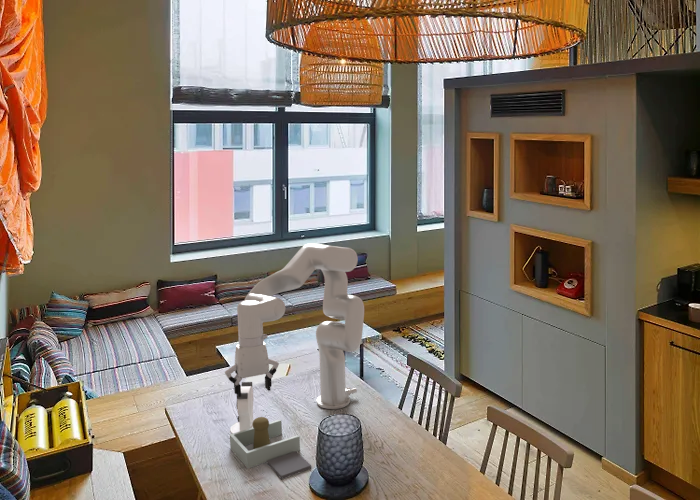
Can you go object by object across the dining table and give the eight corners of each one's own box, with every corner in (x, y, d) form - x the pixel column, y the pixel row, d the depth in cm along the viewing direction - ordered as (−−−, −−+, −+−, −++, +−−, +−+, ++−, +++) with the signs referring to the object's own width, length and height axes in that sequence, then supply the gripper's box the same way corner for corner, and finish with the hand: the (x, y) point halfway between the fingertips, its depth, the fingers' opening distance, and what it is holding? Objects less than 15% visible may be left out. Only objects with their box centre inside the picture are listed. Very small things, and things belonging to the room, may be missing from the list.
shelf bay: (280, 433, 198) (280, 419, 197) (300, 450, 186) (299, 436, 185) (230, 448, 188) (229, 434, 187) (247, 468, 176) (246, 453, 176)
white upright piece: (234, 420, 208) (231, 380, 205) (265, 419, 208) (263, 380, 205) (227, 437, 196) (224, 395, 193) (261, 436, 196) (258, 394, 193)
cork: (268, 456, 183) (266, 424, 181) (249, 454, 184) (248, 422, 182) (274, 446, 189) (272, 415, 187) (256, 445, 190) (254, 413, 188)
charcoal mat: (295, 453, 184) (295, 451, 184) (311, 468, 176) (311, 465, 176) (267, 463, 179) (266, 460, 179) (281, 479, 171) (281, 475, 170)
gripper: (273, 332, 188) (275, 382, 191) (220, 341, 180) (223, 393, 183) (281, 339, 181) (283, 391, 184) (227, 348, 174) (229, 402, 177)
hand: (253, 392), depth 184 cm, fingers open, 9 cm apart
